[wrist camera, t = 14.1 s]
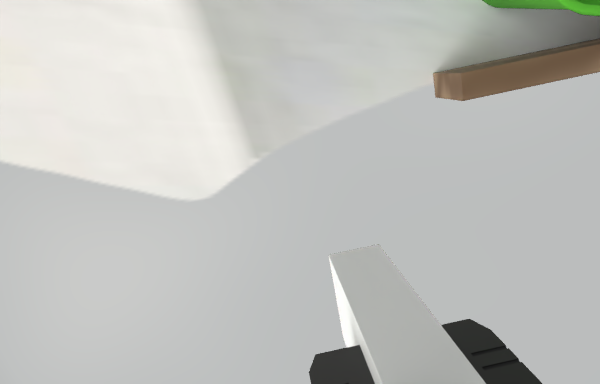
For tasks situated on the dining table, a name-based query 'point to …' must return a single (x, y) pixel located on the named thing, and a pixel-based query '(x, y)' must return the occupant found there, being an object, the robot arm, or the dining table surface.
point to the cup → (551, 5)
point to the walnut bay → (518, 71)
